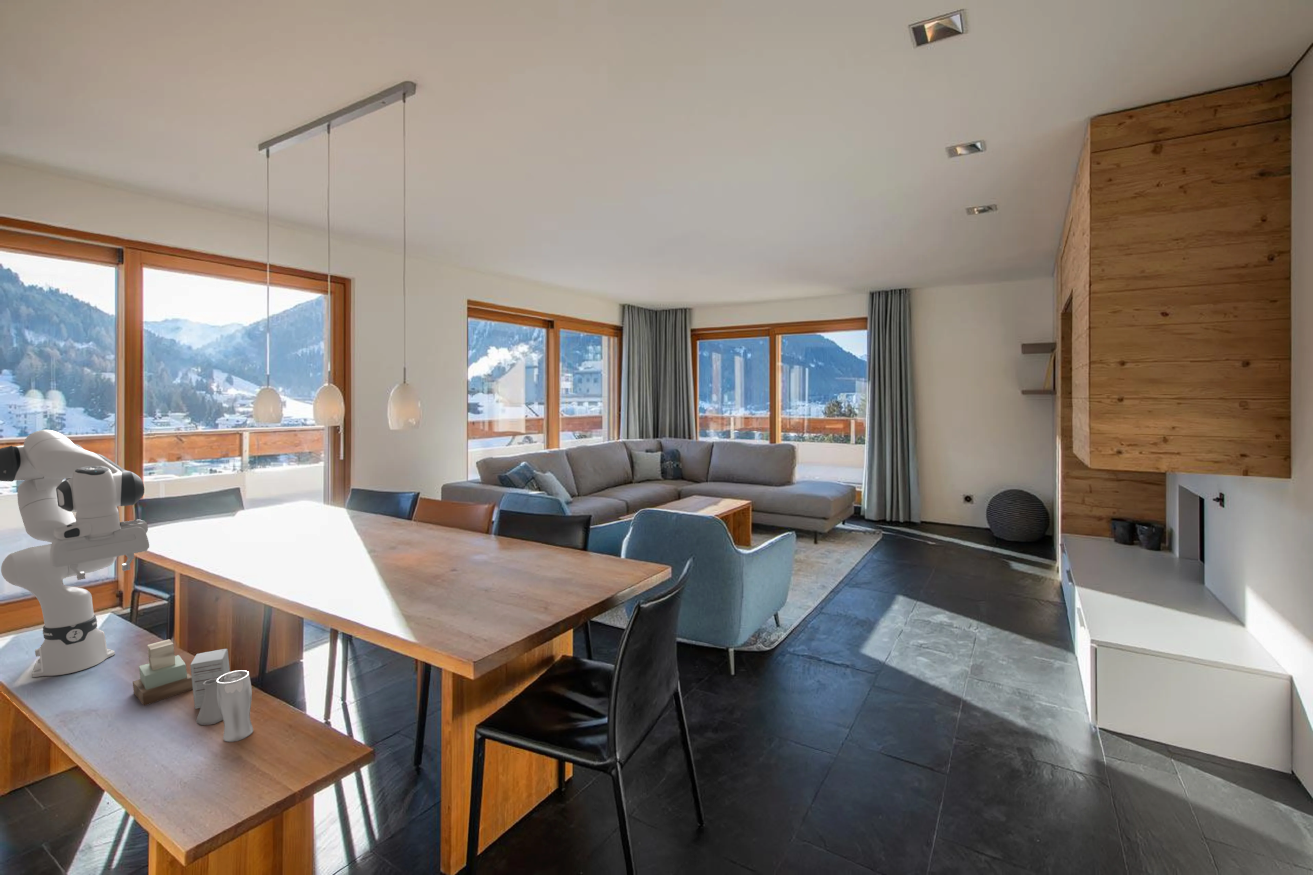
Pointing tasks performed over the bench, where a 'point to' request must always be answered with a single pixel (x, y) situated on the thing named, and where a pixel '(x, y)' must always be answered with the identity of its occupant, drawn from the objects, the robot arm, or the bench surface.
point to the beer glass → (235, 704)
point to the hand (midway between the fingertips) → (104, 574)
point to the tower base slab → (161, 690)
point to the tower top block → (162, 674)
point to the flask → (209, 705)
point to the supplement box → (207, 671)
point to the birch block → (161, 654)
